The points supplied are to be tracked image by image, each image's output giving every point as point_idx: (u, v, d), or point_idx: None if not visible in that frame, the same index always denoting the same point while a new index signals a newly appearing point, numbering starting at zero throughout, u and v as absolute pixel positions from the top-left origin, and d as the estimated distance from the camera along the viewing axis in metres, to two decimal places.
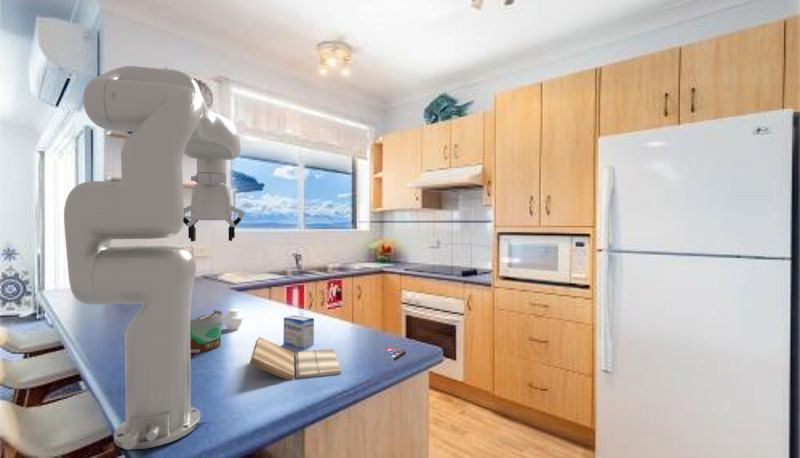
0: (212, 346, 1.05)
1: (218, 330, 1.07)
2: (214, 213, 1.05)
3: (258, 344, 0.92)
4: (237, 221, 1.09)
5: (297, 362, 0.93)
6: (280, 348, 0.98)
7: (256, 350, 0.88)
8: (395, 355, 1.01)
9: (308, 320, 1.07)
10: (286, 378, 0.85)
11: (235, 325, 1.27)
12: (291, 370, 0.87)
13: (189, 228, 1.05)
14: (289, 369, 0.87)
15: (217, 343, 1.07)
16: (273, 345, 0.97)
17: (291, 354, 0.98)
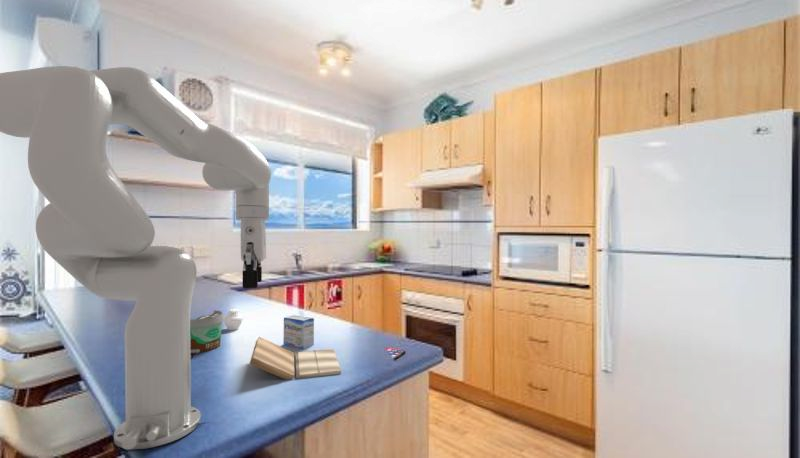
0: (212, 346, 1.05)
1: (218, 330, 1.07)
2: (265, 252, 0.93)
3: (258, 344, 0.92)
4: None
5: (297, 362, 0.93)
6: (280, 348, 0.98)
7: (256, 350, 0.88)
8: (395, 355, 1.01)
9: (308, 320, 1.07)
10: (286, 378, 0.85)
11: (235, 325, 1.27)
12: (291, 370, 0.87)
13: (253, 272, 0.86)
14: (289, 369, 0.87)
15: (217, 343, 1.07)
16: (273, 345, 0.97)
17: (291, 354, 0.98)
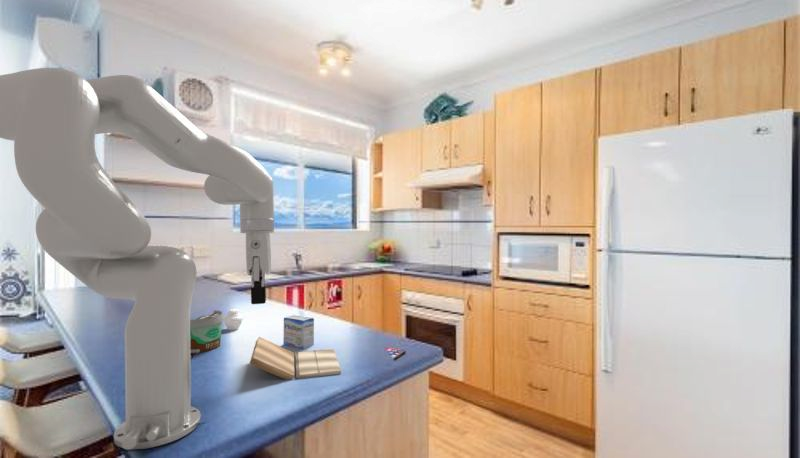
0: (212, 346, 1.05)
1: (218, 330, 1.07)
2: None
3: (258, 344, 0.92)
4: None
5: (297, 362, 0.93)
6: (280, 348, 0.98)
7: (256, 350, 0.88)
8: (395, 355, 1.01)
9: (308, 320, 1.07)
10: (286, 378, 0.85)
11: (235, 325, 1.27)
12: (291, 370, 0.87)
13: (261, 288, 0.90)
14: (289, 369, 0.87)
15: (217, 343, 1.07)
16: (273, 345, 0.97)
17: (291, 354, 0.98)
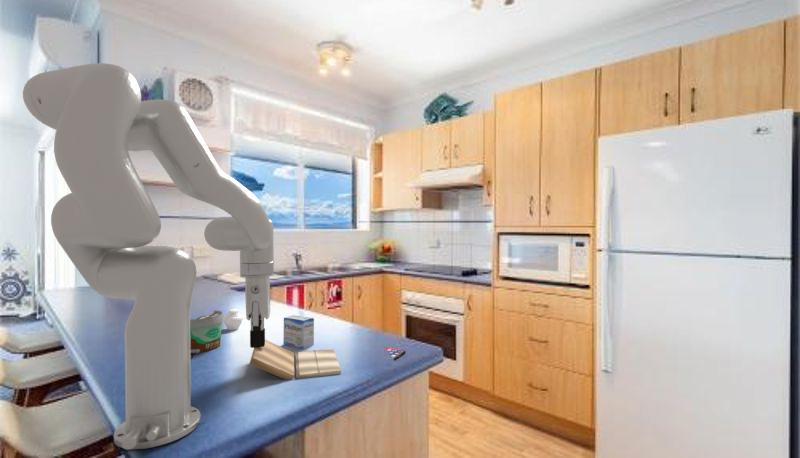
0: (212, 346, 1.05)
1: (218, 330, 1.07)
2: None
3: None
4: None
5: (297, 362, 0.93)
6: (280, 348, 0.98)
7: (256, 350, 0.88)
8: (395, 355, 1.01)
9: (308, 320, 1.07)
10: (286, 378, 0.85)
11: (235, 325, 1.27)
12: (291, 370, 0.87)
13: (260, 332, 0.90)
14: (289, 369, 0.87)
15: (217, 343, 1.07)
16: (273, 345, 0.97)
17: (291, 354, 0.98)
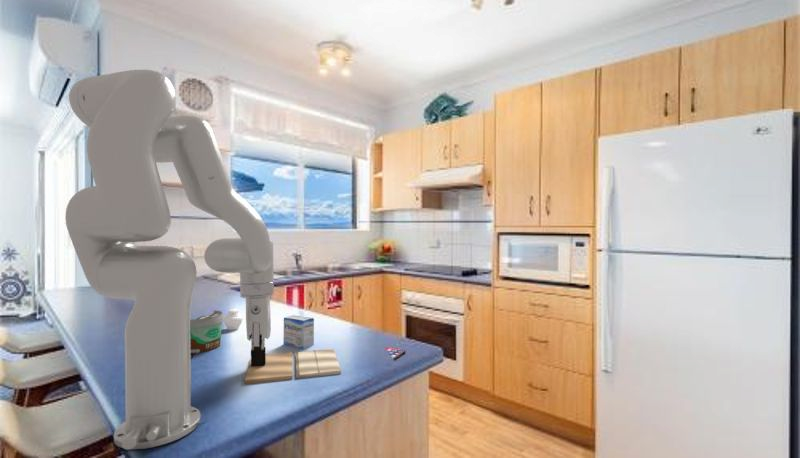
0: (212, 346, 1.05)
1: (218, 330, 1.07)
2: (270, 325, 0.93)
3: None
4: None
5: (297, 362, 0.93)
6: (276, 355, 0.98)
7: (248, 370, 0.87)
8: (395, 355, 1.01)
9: (308, 320, 1.07)
10: None
11: (235, 325, 1.27)
12: (289, 371, 0.87)
13: (261, 351, 0.90)
14: (286, 371, 0.87)
15: (217, 343, 1.07)
16: (269, 356, 0.97)
17: (289, 355, 0.98)
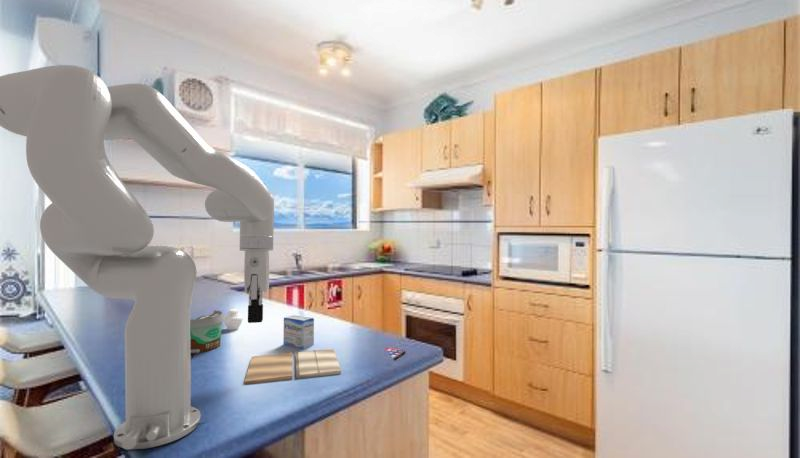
0: (212, 346, 1.05)
1: (218, 330, 1.07)
2: None
3: (251, 364, 0.92)
4: None
5: (297, 362, 0.93)
6: (276, 356, 0.98)
7: (248, 372, 0.87)
8: (395, 355, 1.01)
9: (308, 320, 1.07)
10: None
11: (235, 325, 1.27)
12: (289, 371, 0.87)
13: (258, 307, 0.89)
14: (286, 372, 0.87)
15: (217, 343, 1.07)
16: (269, 356, 0.97)
17: (289, 355, 0.98)
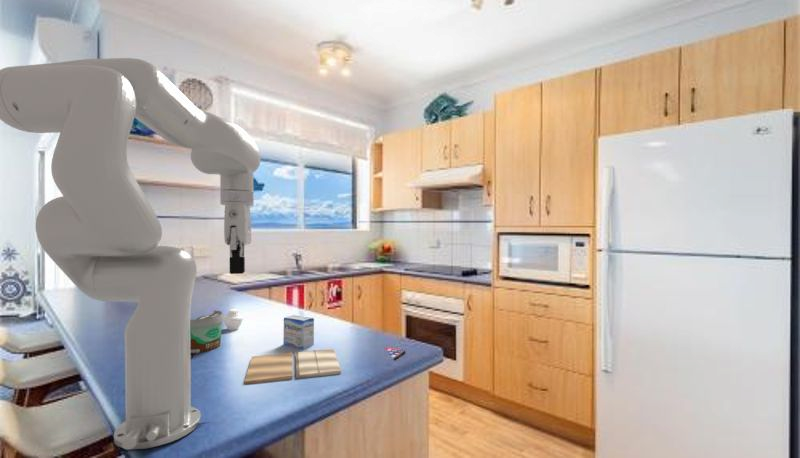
0: (212, 346, 1.05)
1: (218, 330, 1.07)
2: (249, 236, 0.95)
3: (251, 364, 0.92)
4: None
5: (297, 362, 0.93)
6: (276, 356, 0.98)
7: (248, 372, 0.87)
8: (395, 355, 1.01)
9: (308, 320, 1.07)
10: None
11: (235, 325, 1.27)
12: (289, 371, 0.87)
13: (239, 259, 0.92)
14: (286, 372, 0.87)
15: (217, 343, 1.07)
16: (269, 356, 0.97)
17: (289, 355, 0.98)
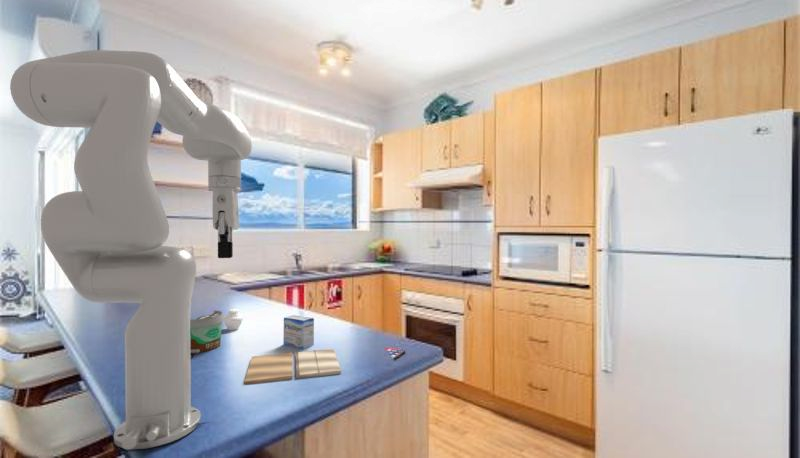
0: (212, 346, 1.05)
1: (218, 330, 1.07)
2: (237, 222, 0.97)
3: (251, 364, 0.92)
4: None
5: (297, 362, 0.93)
6: (276, 356, 0.98)
7: (248, 372, 0.87)
8: (395, 355, 1.01)
9: (308, 320, 1.07)
10: None
11: (235, 325, 1.27)
12: (289, 371, 0.87)
13: (228, 243, 0.95)
14: (286, 372, 0.87)
15: (217, 343, 1.07)
16: (269, 356, 0.97)
17: (289, 355, 0.98)
